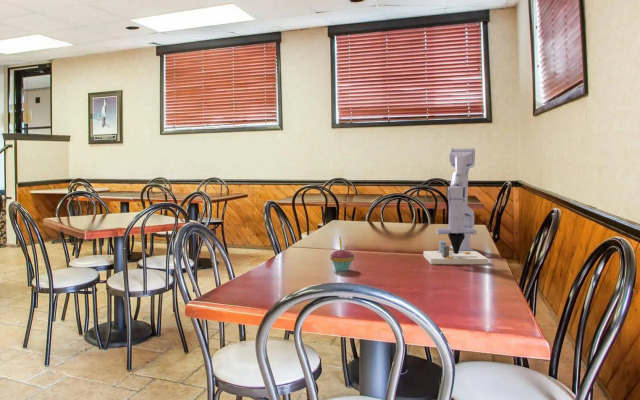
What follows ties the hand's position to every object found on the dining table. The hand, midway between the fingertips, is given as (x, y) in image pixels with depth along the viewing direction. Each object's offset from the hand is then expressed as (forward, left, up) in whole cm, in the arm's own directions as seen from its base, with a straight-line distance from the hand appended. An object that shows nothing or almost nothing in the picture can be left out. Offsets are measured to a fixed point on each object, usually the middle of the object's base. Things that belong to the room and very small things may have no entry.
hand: (455, 253), depth 174 cm
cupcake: (+13, -43, -4) cm, 45 cm away
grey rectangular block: (-9, -3, -1) cm, 10 cm away
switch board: (-4, 0, -3) cm, 5 cm away
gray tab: (0, -4, -1) cm, 4 cm away
